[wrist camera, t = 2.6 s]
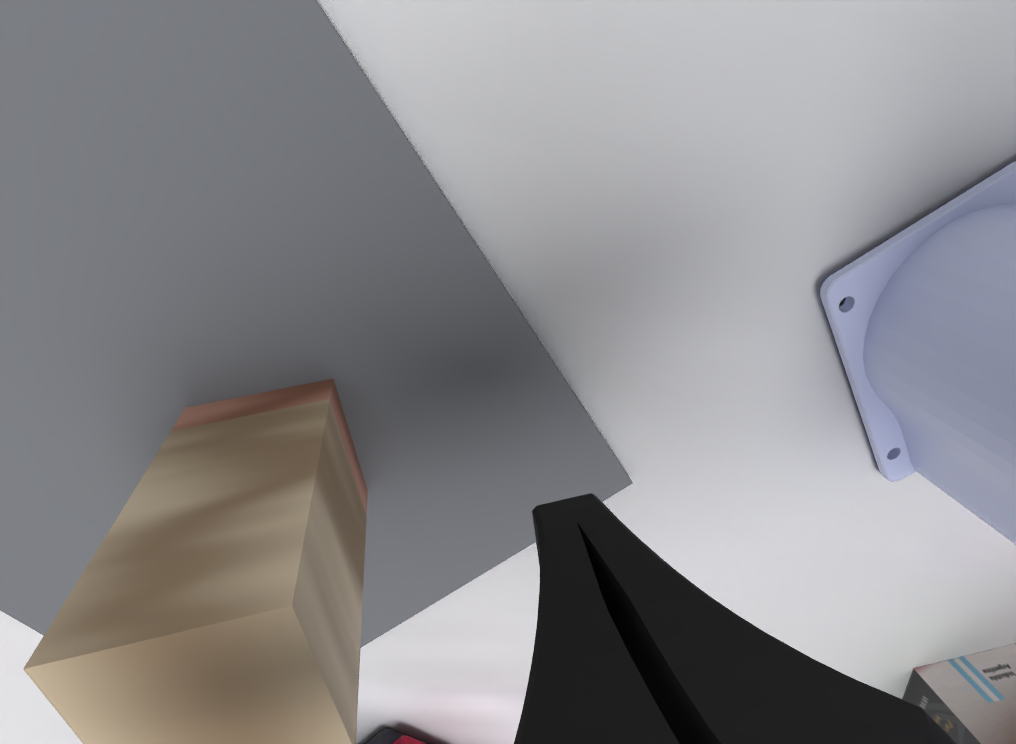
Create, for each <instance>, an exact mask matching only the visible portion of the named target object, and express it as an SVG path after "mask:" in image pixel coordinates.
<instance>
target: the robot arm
mask: <svg viewBox="0 0 1016 744" xmlns="http://www.w3.org/2000/svg"><path fill="white" fill-rule="evenodd" d="M820 296H821V300H822V303H823V306H824V309H825V311H826V314H827V317H828V320H829V323H830V326H831V329H832V332H833V335H834V338H835V341H836V344H837V347H838V350H839V353H840V356H841V359H842V362H843V364H844V367H845V370H846V373H847V376H848V379H849V382H850V385H851V388H852V391H853V394H854V397H855V400H856V403H857V406H858V409H859V412H860V415H861V417H862V420H863V423H864V426H865V429H866V432H867V435H868V438H869V441H870V444H871V447H872V450H873V453H874V456H875V459H876V462H877V465H878V468H879V470H880V473H881V474H882V476H884V477H885V478H886V479H887V480H889V481H898V480H901V479H903V478H905V477H906V476H908V475H910V474H912V473H913V472H915V471H917V472H918V473H919V474H921V475H922V476H924V477H925V478H926V479H928V480H929V481H930V482H932V483H933V484H934V485H936V486H937V487H938V488H940V489H941V490H942V491H944V492H945V493H947V494H948V495H949V496H951V497H952V498H953V499H955V500H956V501H957V502H959V503H960V504H961V505H963V506H964V507H965V508H967V509H968V510H970V511H971V512H972V513H974V514H975V515H976V516H978V517H979V518H980V519H982V520H983V521H984V522H986V523H987V524H988V525H990V526H991V527H993V528H994V529H995V530H997V531H998V532H999V533H1001V534H1002V535H1003V536H1005V537H1006V538H1007V539H1009V540H1010V541H1011V542H1013V543H1014V544H1015V545H1016V161H1014V162H1012V163H1011V164H1009V165H1008V166H1006V167H1004V168H1003V169H1001V170H1000V171H998V172H996V173H995V174H993V175H992V176H990V177H988V178H987V179H985V180H983V181H982V182H980V183H979V184H977V185H975V186H974V187H972V188H971V189H969V190H967V191H966V192H964V193H963V194H961V195H959V196H958V197H956V198H954V199H953V200H951V201H950V202H948V203H946V204H945V205H943V206H942V207H940V208H938V209H937V210H935V211H934V212H932V213H930V214H929V215H927V216H925V217H924V218H922V219H921V220H919V221H917V222H916V223H914V224H913V225H911V226H909V227H908V228H906V229H905V230H903V231H901V232H900V233H898V234H896V235H895V236H893V237H892V238H890V239H888V240H887V241H885V242H884V243H882V244H880V245H879V246H877V247H876V248H874V249H872V250H871V251H869V252H867V253H866V254H864V255H863V256H861V257H859V258H858V259H856V260H855V261H853V262H851V263H850V264H848V265H846V266H845V267H843V268H842V269H840V270H838V271H837V272H835V273H834V274H832V275H831V276H829V277H828V278H827V279H826V280H825V281H824V283H823V284H822V286H821V290H820ZM845 297H846V300H845V302H844V304H843V305H842V306H841V307H839V304H840V302H841V301H842V300H843V299H844V298H845ZM532 516H533V523H534V530H535V537H536V544H537V550H538V557H539V564H540V592H539V606H538V620H537V629H536V637H535V645H534V652H533V658H532V665H531V670H530V676H529V681H528V686H527V691H526V696H525V701H524V706H523V710H522V715H521V719H520V723H519V727H518V730H517V734H516V738H515V742H514V744H957V743H956V742H955V741H954V740H953V739H952V738H951V737H950V736H949V735H948V734H947V732H946V731H944V730H943V729H942V728H941V727H940V726H939V725H938V724H937V723H936V722H935V721H934V720H933V719H932V718H931V717H930V716H929V715H928V714H927V713H926V712H925V711H924V709H923V708H921V707H918V706H916V705H914V704H911V703H909V702H907V701H904V700H902V699H900V698H897V697H895V696H893V695H890V694H888V693H886V692H883V691H881V690H878V689H876V688H874V687H871V686H869V685H867V684H864V683H862V682H860V681H857V680H855V679H853V678H851V677H849V676H847V675H844V674H842V673H840V672H838V671H836V670H834V669H832V668H830V667H828V666H826V665H824V664H822V663H820V662H818V661H816V660H814V659H812V658H810V657H808V656H807V655H805V654H803V653H801V652H799V651H798V650H796V649H794V648H792V647H790V646H789V645H787V644H785V643H783V642H781V641H780V640H778V639H776V638H774V637H772V636H770V635H769V634H767V633H765V632H764V631H762V630H760V629H759V628H757V627H755V626H754V625H752V624H751V623H749V622H748V621H746V620H744V619H743V618H741V617H740V616H738V615H736V614H735V613H733V612H732V611H730V610H729V609H728V608H726V607H725V606H723V605H722V604H720V603H719V602H717V601H716V600H714V599H713V598H712V597H710V596H709V595H707V594H706V593H705V592H703V591H702V590H701V589H699V588H698V587H696V586H695V585H694V584H693V583H691V582H690V581H689V580H687V579H686V578H685V577H684V576H682V575H681V574H680V573H678V572H677V571H676V570H675V569H673V568H672V567H671V566H670V565H669V564H667V563H666V562H665V561H664V560H663V559H661V558H660V557H659V556H658V555H657V554H656V553H655V552H654V551H652V550H651V549H650V548H649V547H648V546H647V545H646V544H644V543H643V542H642V541H641V540H640V539H639V538H638V537H637V536H636V535H634V534H633V533H632V532H631V531H630V530H629V529H628V528H627V527H626V526H625V525H624V524H623V523H622V522H621V521H620V520H619V519H618V518H617V517H616V516H615V515H614V514H613V513H612V512H611V511H610V510H609V509H608V508H607V507H606V506H605V505H604V504H603V503H602V502H601V500H600V499H599V498H598V497H597V496H595V495H594V494H592V493H589V494H585V495H581V496H576V497H572V498H567V499H563V500H559V501H554V502H550V503H546V504H541V505H537V506H536V507H535V508H534V509H533V510H532Z"/></svg>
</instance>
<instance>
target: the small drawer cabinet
mask: <svg viewBox="0 0 1016 744" xmlns="http://www.w3.org/2000/svg"><path fill="white" fill-rule="evenodd" d="M366 744H426V743H423V742H421V741H419V740H417V739H414V738H412V737H410V736H407V735H403V734H401V733H399V732H396V731H394V730H392V729H388V728H386V729H383V730H382V731H381V732H379V733H378V734H377V735H376V736H374V737H373V738H372V739H371V740H369V741H368V742H367V743H366Z"/></svg>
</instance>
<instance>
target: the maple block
mask: <svg viewBox="0 0 1016 744" xmlns="http://www.w3.org/2000/svg"><path fill="white" fill-rule="evenodd" d="M367 498H368V490H367V486H366V483H365V480H364V477H363V473H362V470H361V467H360V464H359V460H358V457H357V454H356V451H355V447H354V444H353V441H352V438H351V434H350V431H349V428H348V425H347V421H346V418H345V415H344V411H343V408H342V405H341V402H340V398H339V395H338V392H337V389H336V385H335V382H334V379H329V380H323V381H318V382H313V383H308V384H303V385H298V386H293V387H288V388H283V389H278V390H273V391H268V392H263V393H258V394H253V395H248V396H242V397H237V398H232V399H227V400H222V401H217V402H212V403H207V404H202V405H197V406H192V407H187V408H185V409H184V411H183V412H182V414H181V415H180V417H179V419H178V420H177V422H176V424H175V425H174V427H173V428H172V430H171V432H170V433H169V435H168V436H167V438H166V440H165V441H164V443H163V445H162V446H161V448H160V449H159V451H158V453H157V454H156V456H155V457H154V459H153V461H152V462H151V464H150V465H149V467H148V469H147V470H146V472H145V474H144V475H143V477H142V478H141V480H140V482H139V483H138V485H137V486H136V488H135V490H134V491H133V493H132V495H131V496H130V498H129V499H128V501H127V503H126V504H125V506H124V507H123V509H122V511H121V512H120V514H119V516H118V517H117V519H116V520H115V522H114V524H113V525H112V527H111V528H110V530H109V532H108V533H107V535H106V537H105V538H104V540H103V541H102V543H101V545H100V546H99V548H98V549H97V551H96V553H95V554H94V556H93V557H92V559H91V561H90V562H89V564H88V566H87V567H86V569H85V570H84V572H83V574H82V575H81V577H80V578H79V580H78V582H77V583H76V585H75V587H74V588H73V590H72V591H71V593H70V595H69V596H68V598H67V599H66V601H65V603H64V604H63V606H62V608H61V609H60V611H59V612H58V614H57V616H56V617H55V619H54V620H53V622H52V624H51V625H50V627H49V629H48V630H47V632H46V633H45V635H44V637H43V638H42V640H41V641H40V643H39V645H38V646H37V648H36V649H35V651H34V653H33V654H32V656H31V658H30V659H29V661H28V662H27V664H26V666H25V667H24V671H25V672H26V673H27V674H28V676H29V677H30V678H31V679H32V680H33V682H34V683H35V684H36V685H37V687H38V688H39V689H40V690H41V692H42V693H43V694H44V695H45V697H46V698H47V699H48V700H49V702H50V703H51V704H52V705H53V707H54V708H55V709H56V710H57V712H58V713H59V714H60V715H61V717H62V718H63V719H64V720H65V722H66V723H67V724H68V725H69V727H70V728H71V729H72V730H73V732H74V733H75V734H76V735H77V737H78V738H79V739H80V740H81V742H82V743H83V744H356V726H357V705H358V685H359V664H360V643H361V623H362V602H363V581H364V561H365V540H366V519H367Z"/></svg>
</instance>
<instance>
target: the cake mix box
mask: <svg viewBox="0 0 1016 744" xmlns="http://www.w3.org/2000/svg"><path fill="white" fill-rule="evenodd" d="M902 700H904V701H907V702H909V703H911V704H914V705H916V706H918V707H921V708H923V709H924V711H925V712H926V713H927V714H928V715H929V716H930V717H931V718H932V719H933V720H934V721H935V722H936V723H937V724H938V725H939V726H940V727H941V728H942V729H943V730H944V731H946V732H947V734H948V735H949V736H950V737H951V738H952V739H953V740H954V741H955V742H956V743H957V744H1016V643H1015V644H1011V645H1007V646H1003V647H999V648H995V649H991V650H986V651H982V652H978V653H974V654H970V655H966V656H962V657H958V658H953V659H949V660H945V661H941V662H937V663H933V664H929V665H925V666H921V667H916V668H913V671H912V674H911V676H910V679H909V682H908V685H907V687H906V690H905V693H904V696H903V698H902Z"/></svg>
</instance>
